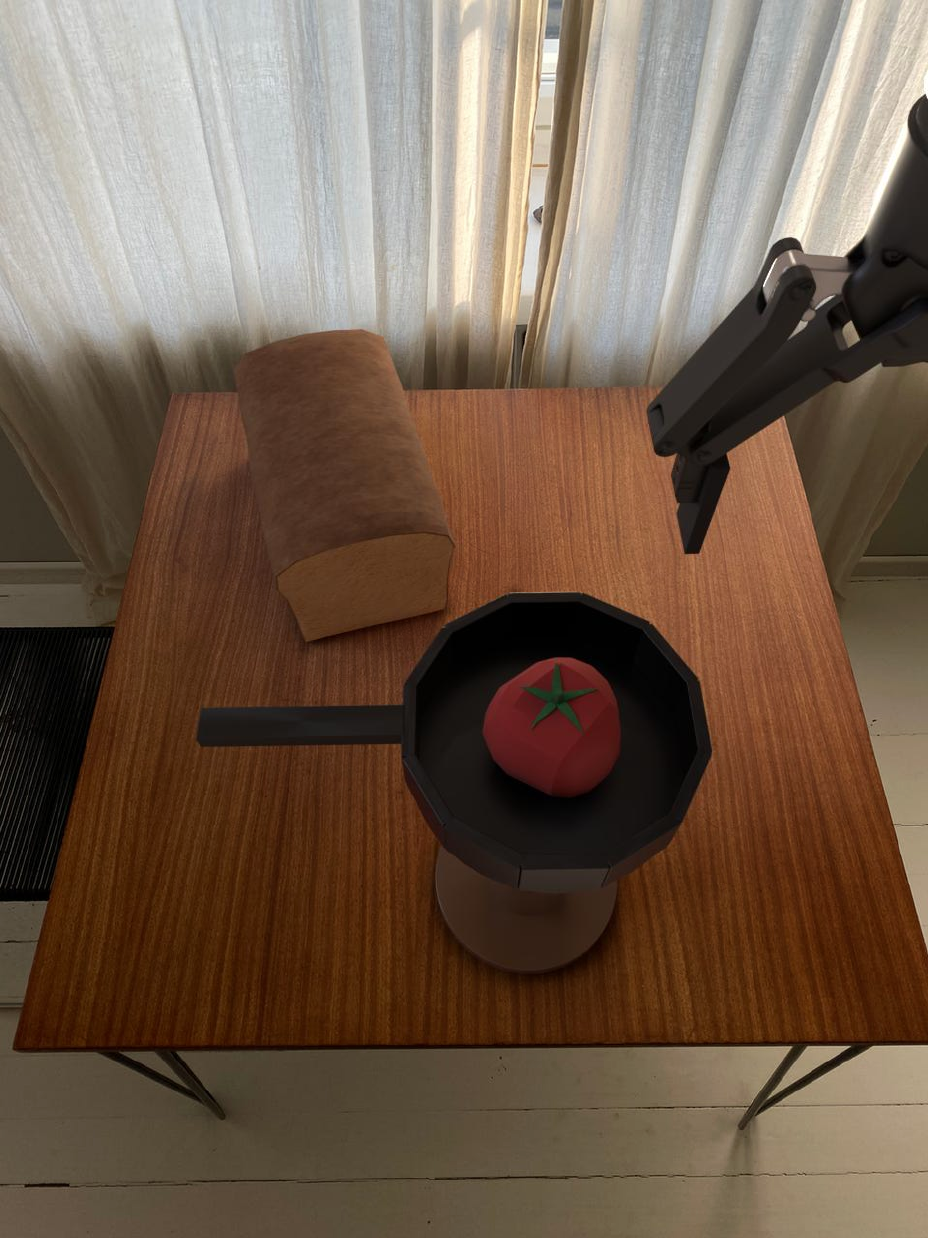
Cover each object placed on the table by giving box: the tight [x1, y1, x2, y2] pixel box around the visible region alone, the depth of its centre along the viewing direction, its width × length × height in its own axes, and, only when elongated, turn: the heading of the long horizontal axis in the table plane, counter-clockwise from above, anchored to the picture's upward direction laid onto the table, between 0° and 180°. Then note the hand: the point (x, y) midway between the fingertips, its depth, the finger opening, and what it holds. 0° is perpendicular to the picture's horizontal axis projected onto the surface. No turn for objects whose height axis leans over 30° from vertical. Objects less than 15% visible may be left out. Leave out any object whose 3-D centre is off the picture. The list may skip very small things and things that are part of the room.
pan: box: [195, 591, 713, 975], centre depth 64 cm, size 18×29×33 cm, turn 91°
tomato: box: [483, 658, 621, 798], centre depth 51 cm, size 8×8×7 cm
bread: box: [233, 328, 456, 643], centre depth 93 cm, size 18×30×16 cm, turn 15°
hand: (816, 530), depth 46 cm, fingers open, 13 cm apart
